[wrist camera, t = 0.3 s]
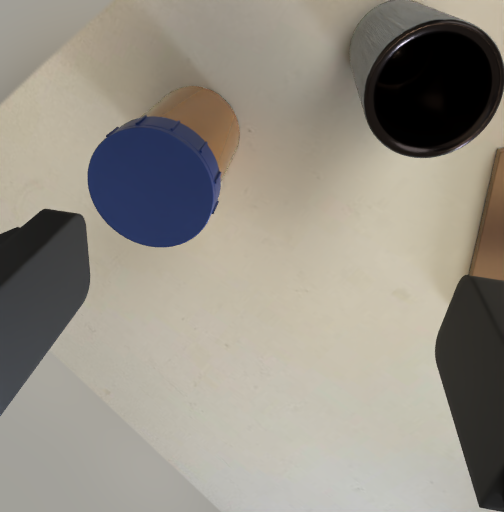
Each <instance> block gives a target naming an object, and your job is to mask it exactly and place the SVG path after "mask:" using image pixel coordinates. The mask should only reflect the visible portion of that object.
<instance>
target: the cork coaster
mask: <svg viewBox="0 0 504 512" xmlns="http://www.w3.org/2000/svg"><path fill="white" fill-rule="evenodd" d="M469 275H471V276H477V277H484V278H490V279H497V280H503V281H504V148H499V149H497V154H496V158H495V162H494V167H493V171H492V176H491V180H490V185H489V189H488V193H487V198H486V202H485V207H484V211H483V216H482V220H481V224H480V229H479V233H478V238H477V242H476V247H475V251H474V255H473V260H472V264H471V269H470V273H469Z"/></svg>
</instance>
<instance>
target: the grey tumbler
mask: <svg viewBox="0 0 504 512" xmlns="http://www.w3.org/2000/svg"><path fill="white" fill-rule="evenodd" d="M350 65H351V69H352V72H353V76H354V79H355V83H356V86H357V90H358V93H359V97H360V100H361V104H362V107H363V111H364V114H365V117H366V120H367V123H368V125H369V127H370V129H371V131H372V132H373V134H374V135H375V136H376V138H377V139H378V140H379V141H380V142H381V143H382V144H383V145H385V146H386V147H387V148H389V149H390V150H392V151H394V152H396V153H399V154H401V155H404V156H409V157H414V158H431V157H437V156H441V155H445V154H448V153H451V152H453V151H455V150H457V149H459V148H461V147H463V146H464V145H466V144H468V143H469V142H470V141H472V140H473V139H474V138H475V137H477V136H478V135H479V134H480V133H481V132H482V131H483V130H484V128H485V127H486V126H487V125H488V124H489V122H490V121H491V119H492V118H493V116H494V114H495V113H496V111H497V109H498V106H499V104H500V101H501V98H502V95H503V91H504V63H503V59H502V56H501V54H500V51H499V49H498V47H497V46H496V44H495V42H494V41H493V40H492V39H491V37H490V36H489V35H488V34H487V33H485V32H484V31H483V30H482V29H480V28H479V27H477V26H475V25H473V24H471V23H469V22H467V21H464V20H462V19H459V18H456V17H454V16H451V15H449V14H446V13H443V12H441V11H438V10H435V9H433V8H430V7H428V6H425V5H422V4H420V3H417V2H414V1H410V0H393V1H389V2H386V3H383V4H381V5H379V6H377V7H375V8H374V9H372V10H371V11H370V12H369V13H368V14H366V15H365V16H364V18H363V19H362V20H361V21H360V23H359V24H358V26H357V27H356V29H355V31H354V34H353V36H352V40H351V44H350Z"/></svg>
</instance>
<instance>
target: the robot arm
mask: <svg viewBox="0 0 504 512" xmlns="http://www.w3.org/2000/svg"><path fill="white" fill-rule="evenodd" d="M89 285H90V267H89V256H88V244H87V232H86V223H85V220H84V218H83V216H82V215H81V214H77V213H70V212H64V211H57V210H51V209H43V210H42V211H40V212H39V213H38V214H37V215H35V216H34V217H33V218H32V219H31V220H29V221H28V222H27V223H26V224H25V225H23V226H22V227H21V228H19V227H16V228H14V229H11V230H9V231H7V232H4V233H2V234H0V416H1V415H2V413H3V412H4V410H5V409H6V408H7V406H8V405H9V404H10V402H11V401H12V400H13V398H14V397H15V395H16V394H17V393H18V391H19V390H20V389H21V387H22V386H23V384H24V383H25V382H26V380H27V379H28V378H29V376H30V375H31V374H32V372H33V371H34V369H35V368H36V367H37V365H38V364H39V363H40V361H41V360H42V359H43V357H44V356H45V354H46V353H47V352H48V350H49V349H50V348H51V346H52V345H53V344H54V342H55V341H56V339H57V338H58V337H59V335H60V334H61V333H62V331H63V330H64V329H65V327H66V326H67V324H68V323H69V322H70V320H71V319H72V318H73V316H74V315H75V314H76V312H77V311H78V309H79V308H80V307H81V305H82V304H83V302H84V301H85V299H86V296H87V293H88V290H89ZM435 358H436V363H437V367H438V370H439V374H440V377H441V380H442V384H443V387H444V390H445V394H446V397H447V400H448V404H449V407H450V410H451V414H452V417H453V420H454V424H455V427H456V430H457V434H458V437H459V440H460V444H461V447H462V451H463V454H464V457H465V461H466V464H467V467H468V471H469V474H470V477H471V481H472V484H473V487H474V491H475V494H476V497H477V501H478V504H479V507H480V508H485V509H491V510H496V511H502V512H504V281H503V280H497V279H490V278H484V277H477V276H471V275H465V276H463V277H462V278H461V280H460V281H459V283H458V285H457V287H456V290H455V292H454V295H453V297H452V300H451V302H450V305H449V307H448V310H447V312H446V315H445V317H444V320H443V322H442V325H441V327H440V330H439V332H438V335H437V339H436V346H435Z"/></svg>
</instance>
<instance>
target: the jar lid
mask: <svg viewBox="0 0 504 512" xmlns="http://www.w3.org/2000/svg"><path fill="white" fill-rule="evenodd" d="M106 137H107V138H106V139H104V140H103V141H102V142H101V143H100V144H99V146H98V147H97V148H96V150H95V151H94V153H93V155H92V157H91V160H90V163H89V168H88V187H89V192H90V195H91V198H92V201H93V203H94V205H95V207H96V209H97V211H98V212H99V214H100V215H101V217H102V218H103V219H104V220H105V221H106V222H107V224H108V225H109V226H111V227H112V228H113V229H114V230H115V231H116V232H118V233H119V234H120V235H122V236H124V237H125V238H127V239H129V240H131V241H133V242H136V243H139V244H142V245H146V246H151V247H171V246H176V245H180V244H182V243H185V242H187V241H189V240H190V239H192V238H194V237H195V236H196V235H197V234H198V233H199V232H200V231H201V230H202V229H203V228H204V227H205V225H206V224H207V222H208V220H209V218H210V216H211V214H214V211H215V209H216V207H217V205H218V202H219V201H217V200H218V197H219V193H220V187H221V178H220V176H221V174H222V173H221V172H220V171H219V167H218V164H217V161H216V158H215V156H214V154H213V152H212V151H211V149H210V148H209V146H208V145H207V144H208V143H207V141H206V142H205V141H204V140H203V139H202V138H201V137H200V136H199V135H198V134H197V133H196V132H195V131H193V130H192V129H190V128H189V127H187V126H186V125H184V124H182V123H180V121H179V120H178V121H175V120H172V119H168V118H164V117H156V116H151V117H147V115H144V116H143V117H142V118H137V119H134V120H131V121H129V122H127V123H125V124H124V125H122V126H121V127H120V128H119V127H116V128H115V129H114V130H113V131H111V132H110V133H109V134H107V135H106Z"/></svg>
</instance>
